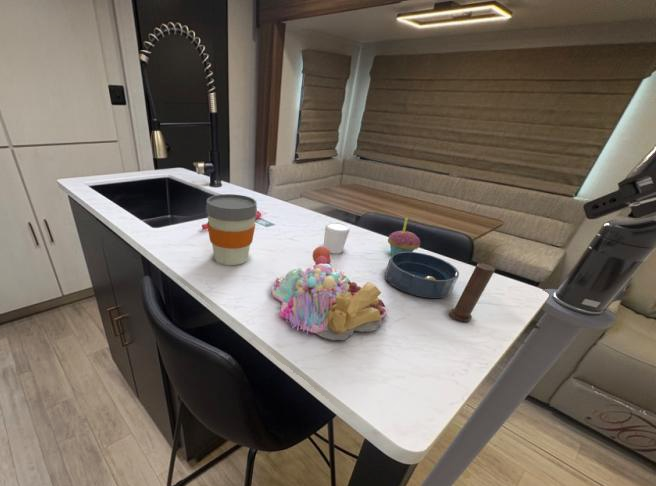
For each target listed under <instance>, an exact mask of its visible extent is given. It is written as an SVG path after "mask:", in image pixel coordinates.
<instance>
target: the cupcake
mask: <svg viewBox="0 0 656 486" xmlns="http://www.w3.org/2000/svg"><path fill="white" fill-rule="evenodd" d="M408 220H409V218H408V215H406V216H405V218H404V222H403V227H402V230H397V231H394V232H392V233H390V234H389V236H388V239H387V243H388V244H389V247H390V255H391V256H392V255H393V254H395V253H398V252H415V250H418V249H419V247H420V246H421V240H420V238H419V237H418V235H416V233H414V232H412V231H407V230H406V229H407V224H408Z"/></svg>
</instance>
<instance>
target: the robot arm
mask: <svg viewBox="0 0 656 486" xmlns="http://www.w3.org/2000/svg"><path fill="white" fill-rule="evenodd" d="M617 187H618V188H617V190H614V191H612V192H610V193H607V194H605V195H603V196H600V197H598V198H595V199H592V200H589V201H587V202H586V203H584V204H583V207H582V208H583V211H584V213H585V214H584V215H585V217H586V218H587V220H597V219H600V218H603V217H606V216H609V215H611V214H614V213H617V212H620V211H622V210H623V211H624V210H626V209H628V208H630V210H631V212H632V213H631V214H632V216H633V218H626V219H625V218H624V219H611V220H608V221H606V222H605V223H604V224H603V225H602V226H601V227H600V228H599V230H598V232H597V233H596V234H595V236H594V237H593V239H592V240H591V241H590V243H589V244H588V245H587V247H586V248H585V250H584V251H583V253H582V254H581V256H580V257H579V258H578V260H577V261H576V263H575V264H574V265H573V266H572V268H571V269H570V271H569V272H568V274H567V275H566V277H565V278H564V279H563V281H562V282H561V284H560V285H559V287H558V288H557V291H556V292H555V293H554V294H553V296H552V299H553V300H554V301H555V302H556V303H558V304H559V305H561V306H563V307H565V308H567V309H569V310H572V311H574V312H577V313H581V314H585V315H591V316H598V315H600V314H601V313H602V312H605V311H606V309H607V308H608V309H609V307H610V306H611V305H612V304H613V303H614V302H615V301H623V299H624V298H625V297H626V296H627V295H628V294H629V291H628V290H626V289H625V288H626V287H627V286H628V285H629V284H630V282H632V280H633V276H634V275H635V274H636V273H637V271H638V270H639V269H640V268H641V267H642V265H643V264H644V263H645V262H647V259H648V258H649V257H650V256H651V254H652V253H653V252H654V251H655V250H656V144H655V145H654V146H653V147H652V148H651V149H650V150H649V151H648V152H647V153H646V154H645V155H644V156H643V157H642V159H641V160H639V161H638V163H636V165H635V166H634V167H633V168H632V169H631V171H629V173H628V174H626V177H624V179H622V180H621V181H619V182H618V183H617Z"/></svg>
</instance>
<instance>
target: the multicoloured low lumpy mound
mask: <svg viewBox="0 0 656 486" xmlns="http://www.w3.org/2000/svg"><path fill="white" fill-rule="evenodd" d="M311 255H312V260H313V261H314V262H315V263H314V265H313V266H312V267H309V268H306V270H305V271H304V270H303V269H302V268H301V267H297V268H295V269H291V270H290V271H288V272H287V273H286V275H285V276H284V277H282V278H280V279H279V278H278V277H276V279H275V281H274V282H275V283H274V285H272V288H271V293H272V294H271V295H272V296H273V297H274V298H275V299H276V300H278V301H279V302H280V303H281V305H280V313H279V316H280V317H281V318H283V319H285V320H286V321H285V322H286V323H288V320H289V323H290V325H291V328H292V330H293V329H294V328H296V327H297V329H296V331H297V332H298V331H299V330H302V332H304V333H305V331H306V335H308V334H309V333H313V334H317V335H318V336H319V337H321V338H324V339H328V340H332V341H338V340H339V341H345V340H348V338H349V336H352V335H353V334H354V331H357V332H373V331H376V330H378V329H379V326H381V325H382V322H383V318H384V317H386V316H387V315H388V310H387V309H385V308H386V305H385V303H384V301H383V300H382V299H380V298H379V296H380V295H381V294H382V291H381V290H380V289H379V288H378V287H377V286H376V285H375V284H374V283H372V282H370V281H367V282H366V283H365V284H363V286H360V285H358V284H357V283H356V282H353V281H352V282H351V280H350V278H349V277H348V276H347V274H345V272H342V271H340V270H336V269H335V268H334V269H333V267H332V266H331V263H332V259H331V253H330V251H329V250H328V248H326V247H324V245H321V246H318V247H315V249H313V252H312V254H311ZM299 328H300V329H299Z"/></svg>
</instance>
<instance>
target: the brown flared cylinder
mask: <svg viewBox="0 0 656 486" xmlns="http://www.w3.org/2000/svg"><path fill="white" fill-rule="evenodd" d="M495 271H496V268H495V267H494V266H493V265H490V264H486V263H482V262H481V263H479V262H478V263H477V264H476V265H475V267H474V269H473V271H472V273H471V276H470V277H469V279H468V281H467V283H466V285H465V287H464V288H463V291H462V293H461V295H460V297H459V298H458V301H457V303H456V304H455V306H454V307H453V308H451V309H450V310H449V312H448V316H449V317H450V319H452V320H453V321H455V322H457V323H460V324H468V323H470V322H471V321H472V318H473V315H472V313H473V310H474V309H475V307H476V305H477V303H478V302H479V300H480V298H481V297H482V294H483V293H484V291H485V289H486V287H487V285H488V284H489V282H490V280H491V278H492V277H493V275H494V273H495Z"/></svg>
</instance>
